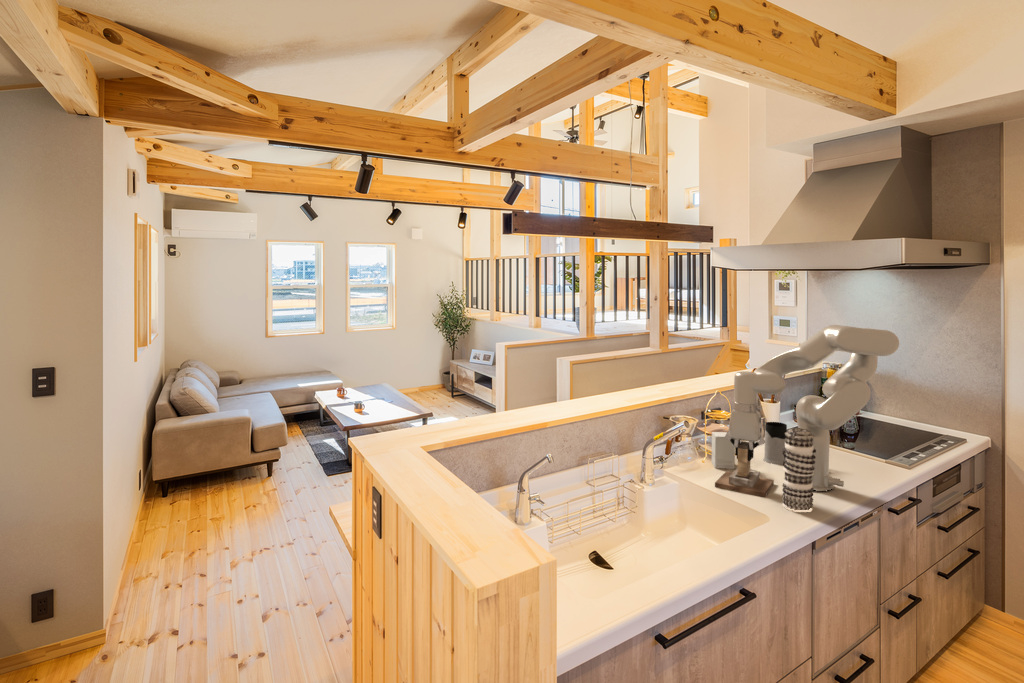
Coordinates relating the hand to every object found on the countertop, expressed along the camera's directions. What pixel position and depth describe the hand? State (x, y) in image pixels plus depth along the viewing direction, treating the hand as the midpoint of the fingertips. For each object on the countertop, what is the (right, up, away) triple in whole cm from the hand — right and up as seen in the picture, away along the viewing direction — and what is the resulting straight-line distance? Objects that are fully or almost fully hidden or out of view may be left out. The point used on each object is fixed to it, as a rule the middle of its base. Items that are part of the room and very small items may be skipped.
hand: (744, 458), depth 177 cm
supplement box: (+2, -8, +22) cm, 23 cm away
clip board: (0, -10, +1) cm, 10 cm away
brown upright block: (0, -6, 0) cm, 6 cm away
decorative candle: (+8, -11, -18) cm, 23 cm away
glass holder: (+27, -7, +25) cm, 37 cm away
